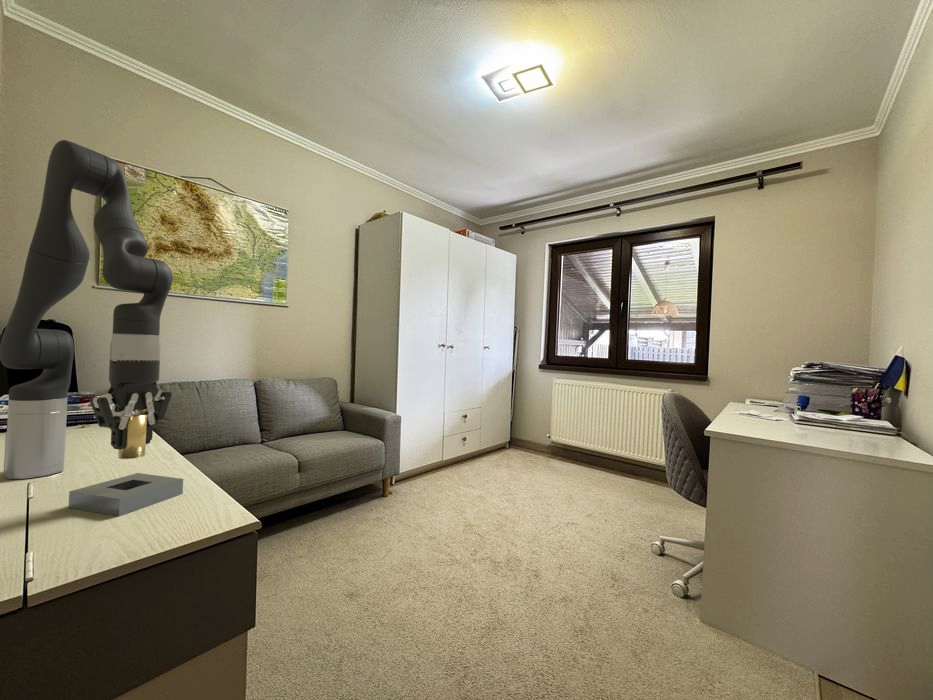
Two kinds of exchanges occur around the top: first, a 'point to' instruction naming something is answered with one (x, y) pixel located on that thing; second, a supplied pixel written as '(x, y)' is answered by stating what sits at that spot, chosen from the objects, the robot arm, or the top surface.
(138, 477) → the frame
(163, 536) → the top surface
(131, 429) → the brass cylinder
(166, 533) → the top surface
